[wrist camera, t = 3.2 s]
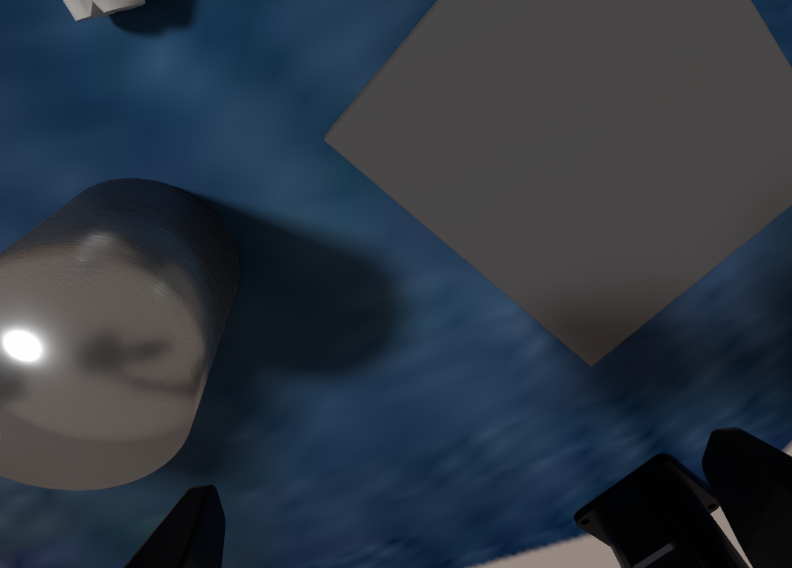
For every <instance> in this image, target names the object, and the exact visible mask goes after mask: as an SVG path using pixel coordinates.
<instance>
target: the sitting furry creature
mask: <svg viewBox="0 0 792 568" xmlns="http://www.w3.org/2000/svg"><path fill="white" fill-rule="evenodd" d="M63 1H64V3H65V5H66V6H67V8H68V9H69V11H70V13H71V14H72V16H73V17H74V19H75V21H83V20H89V19H94V18H99V17H103V16H107V15H111V14H114V13H115V12H119V11H125V10H130V9H132V8H135V7H138V6H142V5H144V4H145V0H63Z"/></svg>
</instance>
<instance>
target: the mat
mask: <svg viewBox="0 0 792 568" xmlns="http://www.w3.org/2000/svg"><path fill="white" fill-rule="evenodd" d="M324 140H325V141H326V142H327V143H328V144H329V145H330V146H332V147H333V148H334V149H335V150H336V151H337V152H339V153H340V154H341V155H342V156H343V157H345V158H346V159H347V160H348V161H349V162H350V163H352V164H353V165H354V166H355V167H356V168H358V169H359V170H360V171H361V172H362V173H363V174H365V175H366V176H367V177H368V178H369V179H370V180H372V181H373V182H374V183H375V184H376V185H378V186H379V187H380V188H381V189H382V190H383V191H385V192H386V193H387V194H388V195H389V196H390V197H392V198H393V199H394V200H395V201H396V202H398V203H399V204H400V205H401V206H402V207H403V208H405V209H406V210H407V211H408V212H409V213H411V214H412V215H413V216H414V217H415V218H416V219H418V220H419V221H420V222H421V223H422V224H423V225H425V226H426V227H427V228H428V229H429V230H431V231H432V232H433V233H434V234H435V235H436V236H438V237H439V238H440V239H441V240H442V241H444V242H445V243H446V244H447V245H448V246H449V247H451V248H452V249H453V250H454V251H455V252H456V253H458V254H459V255H460V256H461V257H462V258H464V259H465V260H466V261H467V262H468V263H469V264H471V265H472V266H473V267H474V268H475V269H476V270H478V271H479V272H480V273H481V274H482V275H484V276H485V277H486V278H487V279H488V280H489V281H491V282H492V283H493V284H494V285H495V286H497V287H498V288H499V289H500V290H501V291H502V292H504V293H505V294H506V295H507V296H508V297H509V298H511V299H512V300H513V301H514V302H515V303H517V304H518V305H519V306H520V307H521V308H522V309H524V310H525V311H526V312H527V313H528V314H530V315H531V316H532V317H533V318H534V319H535V320H537V321H538V322H539V323H540V324H541V325H542V326H544V327H545V328H546V329H547V330H548V331H550V332H551V333H552V334H553V335H554V336H555V337H557V338H558V339H559V340H560V341H561V342H562V343H564V344H565V345H566V346H567V347H568V348H570V349H571V350H572V351H573V352H574V353H575V354H577V355H578V356H579V357H580V358H581V359H583V360H584V361H585V362H586V363H587V364H588V365H590V366H591V367H592V366H593V365H594V364H595V363H597V362H598V361H599V360H600V359H602V358H603V357H604V356H605V355H607V354H608V353H609V352H610V351H612V350H613V349H614V348H615V347H617V346H618V345H619V344H620V343H622V342H623V341H624V340H625V339H626V338H628V337H629V336H630V335H631V334H633V333H634V332H635V331H636V330H638V329H639V328H640V327H641V326H643V325H644V324H645V323H646V322H648V321H649V320H650V319H651V318H653V317H654V316H655V315H656V314H658V313H659V312H660V311H661V310H662V309H664V308H665V307H666V306H667V305H669V304H670V303H671V302H672V301H674V300H675V299H676V298H677V297H679V296H680V295H681V294H682V293H684V292H685V291H686V290H687V289H689V288H690V287H691V286H692V285H693V284H695V283H696V282H697V281H698V280H700V279H701V278H702V277H703V276H705V275H706V274H707V273H708V272H710V271H711V270H712V269H713V268H715V267H716V266H717V265H718V264H720V263H721V262H722V261H723V260H725V259H726V258H727V257H728V256H729V255H731V254H732V253H733V252H734V251H736V250H737V249H738V248H739V247H741V246H742V245H743V244H744V243H746V242H747V241H748V240H749V239H751V238H752V237H753V236H754V235H756V234H757V233H758V232H759V231H760V230H762V229H763V228H764V227H765V226H767V225H768V224H769V223H770V222H772V221H773V220H774V219H775V218H777V217H778V216H779V215H780V214H782V213H783V212H784V211H785V210H787V209H788V208H789V207H790V206H792V68H791V66H790V64H789V63H788V61H787V59H786V58H785V56H784V54H783V53H782V51H781V49H780V48H779V46H778V45H777V43H776V41H775V40H774V38H773V36H772V35H771V33H770V31H769V30H768V28H767V26H766V25H765V23H764V21H763V20H762V18H761V16H760V15H759V13H758V11H757V10H756V8H755V6H754V5H753V3H752V1H751V0H437V1H436V2H435V3H434V5H433V6H432V7H431V8H430V9H429V11H428V12H427V13H426V14H425V15H424V17H423V18H422V19H421V20H420V21H419V23H418V24H417V25H416V26H415V27H414V29H413V30H412V31H411V32H410V33H409V35H408V36H407V37H406V38H405V39H404V41H403V42H402V43H401V44H400V45H399V47H398V48H397V49H396V50H395V51H394V53H393V54H392V55H391V56H390V57H389V59H388V60H387V61H386V62H385V63H384V65H383V66H382V67H381V68H380V69H379V71H378V72H377V73H376V74H375V75H374V77H373V78H372V79H371V80H370V81H369V83H368V84H367V85H366V86H365V87H364V89H363V90H362V91H361V92H360V93H359V95H358V96H357V97H356V98H355V99H354V101H353V102H352V103H351V104H350V105H349V107H348V108H347V109H346V110H345V111H344V113H343V114H342V115H341V116H340V117H339V119H338V120H337V121H336V122H335V123H334V125H333V126H332V127H331V128H330V129H329V131H328V132H327V133H326V134H325V138H324Z"/></svg>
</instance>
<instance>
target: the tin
mask: <svg viewBox="0 0 792 568" xmlns="http://www.w3.org/2000/svg"><path fill="white" fill-rule="evenodd" d="M239 280H240V261H239V255H238V252H237V248H236V245H235V243H234V241H233V238H232V236H231V235H230V233H229V231H228V230H227V228H226V226H225V225H224V224H223V223H222V221H221V220H220V219H219V217H218V216H217V215H216V214H215V213H214V212H213V211H212V210H211V209H210V208H209V207H207V206H206V205H205V204H203V203H202V202H201V201H200V200H198V199H197V198H195V197H193V196H192V195H190V194H189V193H187V192H185V191H183V190H181V189H179V188H176V187H174V186H171V185H168V184H165V183H162V182H158V181H153V180H148V179H139V178H122V179H115V180H109V181H106V182H102V183H99V184H96V185H94V186H92V187H89V188H87V189H86V190H84V191H83V192H81V193H79V194H78V195H77V196H75V197H74V198H73V199H71V200H70V201H69V202H67V203H66V204H65V205H63V206H62V207H61V208H59V209H58V210H57V211H56V212H54V213H53V214H52V215H50V216H49V217H48V218H46V219H45V220H44V221H42V222H41V223H40V224H38V225H37V226H36V227H35V228H33V229H32V230H31V231H29V232H28V233H27V234H25V235H24V236H23V237H21V238H20V239H19V240H17V241H16V242H15V243H13V244H12V245H11V246H10V247H8V248H7V249H6V250H4V251H3V252H2V253H0V476H2V477H4V478H7V479H10V480H13V481H17V482H20V483H24V484H28V485H32V486H38V487H43V488H50V489H59V490H95V489H103V488H109V487H115V486H119V485H123V484H127V483H130V482H132V481H135V480H138V479H140V478H143V477H145V476H147V475H149V474H151V473H153V472H154V471H156V470H157V469H159V468H160V467H162V466H163V465H165V464H166V463H167V462H168V461H169V460H170V459H171V458H173V457H174V456H175V455H176V453H177V452H178V451H179V450H180V448H181V447H182V446H183V444H184V442H185V440H186V439H187V437H188V435H189V432H190V429H191V426H192V423H193V421H194V418H195V415H196V412H197V409H198V406H199V403H200V400H201V397H202V394H203V391H204V388H205V385H206V382H207V379H208V376H209V373H210V370H211V367H212V364H213V361H214V358H215V355H216V352H217V349H218V346H219V343H220V340H221V337H222V334H223V331H224V328H225V325H226V322H227V319H228V316H229V313H230V310H231V307H232V304H233V301H234V298H235V295H236V292H237V289H238V286H239Z"/></svg>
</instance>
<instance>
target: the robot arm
mask: <svg viewBox="0 0 792 568" xmlns="http://www.w3.org/2000/svg"><path fill="white" fill-rule="evenodd" d="M702 469H703V472H704V475H705V477H706V479H707V481H708V483H709V485H710V487H711V489H712V491H713V493H714V495H715V496H714V495H713V494H711V493H710V492H709V491H708V490H706V489H705V488H704V487H703V486H701V485H700V484H699V483H698V482H696V481H695V480H694V479H693V478H692V477H690V476H689V475H688V474H687V473H685V472H684V471H683V470H682V469H680V468H679V467H678V466H677V465H676V464H674V463H673V462H672V461H671V460H669V459H668V458H667V457H665V456H657V457H655V458H654V459H652V460H651V461H649V462H648V463H647V464H645V465H644V466H642V467H641V468H640V469H638V470H637V471H635V472H634V473H632V474H631V475H630V476H628V477H627V478H625V479H624V480H623V481H621V482H620V483H618V484H617V485H616V486H614V487H613V488H611V489H610V490H608V491H607V492H606V493H604V494H603V495H601V496H600V497H599V498H597V499H596V500H594V501H593V502H592V503H590V504H589V505H587V506H586V507H585V508H583V509H582V510H580V511H579V512H577V513H576V514H575V516H574V519H575V522H576V524H577V525H578V527H580V528H582V529H583V530H585V531H586V532H588V533H590V534H591V535H593V536H594V537H596V538H597V539H599V540H601V541H602V542H604V543H605V544H607V545H608V546H610V547H611V548H612V550H613V552H614V554H615V556H616V558H617V560H618V562H619V564H620V566H621V568H749V567H748V565H747V564H746V563H745V561H744V560H743V558H742V557H741V556H740V554H739V553H738V551H737V550H736V549H735V548H734V546H733V545H732V543H731V542H730V541H729V539H728V538H727V536H726V535H725V534H724V532H723V531H722V529H721V528H720V527H719V525H718V524H717V523H716V521H715V520H714V518H713V517H712V516H711V514H710V513H712V512H713V511H715V510H716V509H718V508H719V506H720V507H721V509H722V511H723V512H724V514H725V516H726V518H727V520H728V522H729V524H730V526H731V528H732V530H733V532H734V534H735V536H736V538H737V540H738V542H739V544H740V546H741V547H742V549H743V551H744V553H745V555H746V557H747V558H748V560H749V562H750V563H751V565H752V567H753V568H792V457H791V456H790V455H788V454H786V453H784V452H782V451H780V450H779V449H777V448H775V447H773V446H771V445H769V444H768V443H766V442H764V441H762V440H760V439H758V438H757V437H755V436H753V435H751V434H749V433H747V432H746V431H744V430H742V429H739V428H735V427H731V428H722V429H716V430H714V431H713V432H712V433H711V435H710V438H709V441H708V443H707V446H706V449H705V452H704V455H703V458H702ZM224 537H225V515H224V512H223V508H222V505H221V502H220V498H219V495H218V492H217V489H216V487H215V486H214V485H201V486H193V487H191V488H189V489H188V490H187V491H186V492H185V493H184V494H183V495H182V497H181V498H180V499H179V500H178V502H177V503H176V504H175V505H174V506H173V508H172V509H171V510H170V511H169V513H168V514H167V515H166V516H165V518H164V519H163V520H162V521H161V522H160V524H159V525H158V526H157V527H156V529H155V530H154V531H153V532H152V533H151V535H150V536H149V537H148V538H147V540H146V541H145V542H144V543H143V544H142V546H141V547H140V548H139V549H138V551H137V552H136V553H135V554H134V556H133V557H132V558H131V559H130V560H129V562H128V563H127V564H126V565H125V567H124V568H221V566H222V556H223V547H224Z"/></svg>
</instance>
